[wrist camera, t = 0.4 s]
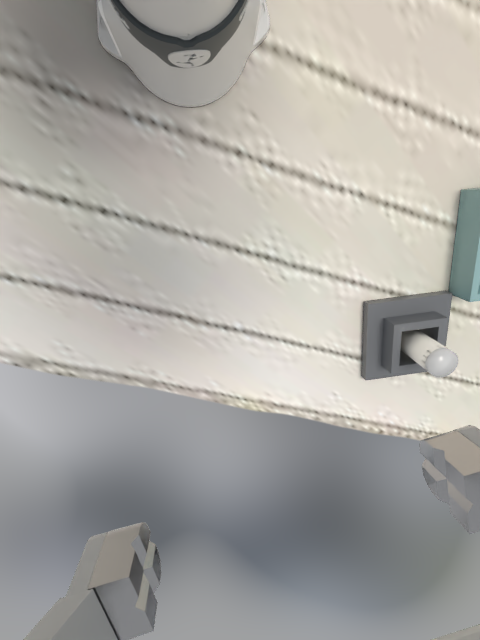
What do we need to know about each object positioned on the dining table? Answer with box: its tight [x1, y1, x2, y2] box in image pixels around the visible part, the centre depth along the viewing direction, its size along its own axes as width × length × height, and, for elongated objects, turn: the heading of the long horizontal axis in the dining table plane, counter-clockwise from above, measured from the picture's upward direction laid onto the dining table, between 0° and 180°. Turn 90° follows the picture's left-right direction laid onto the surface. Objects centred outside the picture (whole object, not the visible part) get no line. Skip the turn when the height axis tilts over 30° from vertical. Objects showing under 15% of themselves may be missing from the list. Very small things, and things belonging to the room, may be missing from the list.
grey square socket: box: [362, 291, 452, 380], centre depth 51 cm, size 13×13×4 cm
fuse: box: [400, 330, 458, 377], centre depth 49 cm, size 4×4×10 cm
